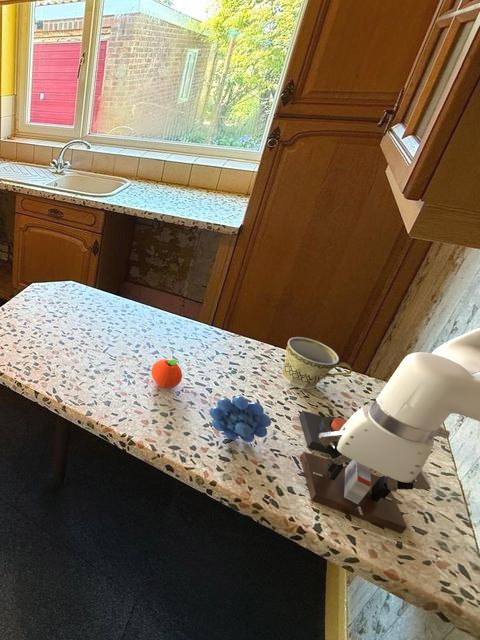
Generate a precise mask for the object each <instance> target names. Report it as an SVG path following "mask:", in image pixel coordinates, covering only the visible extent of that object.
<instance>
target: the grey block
mask: <svg viewBox="0 0 480 640" xmlns="http://www.w3.org/2000/svg"><path fill="white" fill-rule="evenodd" d="M346 466H347V467H346V469H345V488H344V498H346V499H348V500H350V501H352V502H354V503H356V504H359V502H360V501H361V500H362V499H363V497H364V496H365V495H366V494H367V492H368V491H369V490H370V489H371V474H372V473H371V472H372V471H371V470H372V469H371V468H369V467H367V466H365V465H363V464H360V463H358V462H356V461H354V460H351V462H350V461H349V463H348V464H347V465H346Z"/></svg>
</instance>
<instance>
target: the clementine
mask: <svg viewBox="0 0 480 640" xmlns="http://www.w3.org/2000/svg"><path fill="white" fill-rule="evenodd" d="M179 364H180V361H179V360H177V359H168V358H167V359H166V358H165V359H160V360H157V361H156V362H154V364H153V365H152V367H151V378H152V380H153V381H154V382H155V383H156V384H157V385H158V386H160V387H161V388H165V389H171V388H172V389H173V388H175V387H177V386H178V385H179V384H180V383H181V382H182V380H183V372H182V369H181V367H180V366H179Z"/></svg>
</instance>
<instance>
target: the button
mask: <svg viewBox="0 0 480 640" xmlns="http://www.w3.org/2000/svg"><path fill="white" fill-rule="evenodd" d="M347 421H348V419H345V418H342V417H337V418H335V419H334V420H333V422H332V424H331V428H332V429H333V430H334V431H340V429H341V428H342V427H343V425H344V424H345V423H346V422H347Z"/></svg>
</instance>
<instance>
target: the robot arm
mask: <svg viewBox="0 0 480 640" xmlns="http://www.w3.org/2000/svg"><path fill="white" fill-rule="evenodd" d="M452 414H456V415H459V416H463V417H466V418H469V419H471V420H474V421H477V422H480V327H478V328H475V329H472V330H471V331H468V332H466V333H464V334H462V335H459V336H456V337H454V338H452V339H450V340H448V341H447V342H444V343H442V344H441V345H439V346H438V347H437V348H435V349H434V350H433V351H432V352H426V351H425V352H423V351H417V352H412V353H409V354H407V355H406V356H405V357H404V358H403V359H402V361H401V362H400V364H399V365H398V366H397V368H396V370H395V371H394V372H393V374H392V375H391V377H390V378H389V379H388V381H387V383H386V384H385V386H384V387H383V388H382V390H381V392H380V393H379V394H378V396H377V397H376V398H375V400H374V402H373V403H372V404H371V405H368V404H366V405H363V406H361V407H360V408H359V409H358V410H356V411H355V412H354V413H353V414H352V415H351V416H350V417H349V419H347V422H346V423H345V424H344V425H343V427H342V428H341V429H340V431H334V432H325V433H319V440H320V442H321V443H322V444H323V445H324V446H325V448H326V450H327V452H328V453H329V454H328V456H330V458H331V459H330V460H331V461H330V462H329V464H328V465H327V471H329V472H330V474H329V479H331V480H335V479H336V477H337V476H338V475H339V473H340V472H341V470H342V469H343V463H344V464H346V463H347V462H350V461H349V460H351V459H352V460H354V461H356V462H358V463H360V464H363V465H365V466H367V467H369V468H371V470H374V471H375V472H378V473H380V474H382V475H381V476H380V478H379V479H378V480H377V482H376V483H375V484H374V485H373V487H372V499H373V501H375V502H378V501H379V500H380V498H381V497H382V498H384V499H385V498H386V497H387V495H388V494H389V493H390V492H397V491H398V490H408V491H409V490H414V489H415V490H424V491H431V489H432V485H431V482H430V480H429V478H428V477H427V475H426V473H425V471H424V470H423V468H424V466H425V464H426V462H427V460H428V459H429V457H430V454H431V452H432V450H433V447H434V443H435V438H436V437H439V438H440V437H441V438H443V439H446V440H447V439H448V438H449V437H450V435H451V431H450V430H447V429H445V428H444V427H442V425H443V424H444V422H445V421H446V420H447V419H448V418H449V417H450V415H452ZM335 441H339V442H338V446H337V447H336V446H335V444H334V443H332V442H335Z"/></svg>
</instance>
